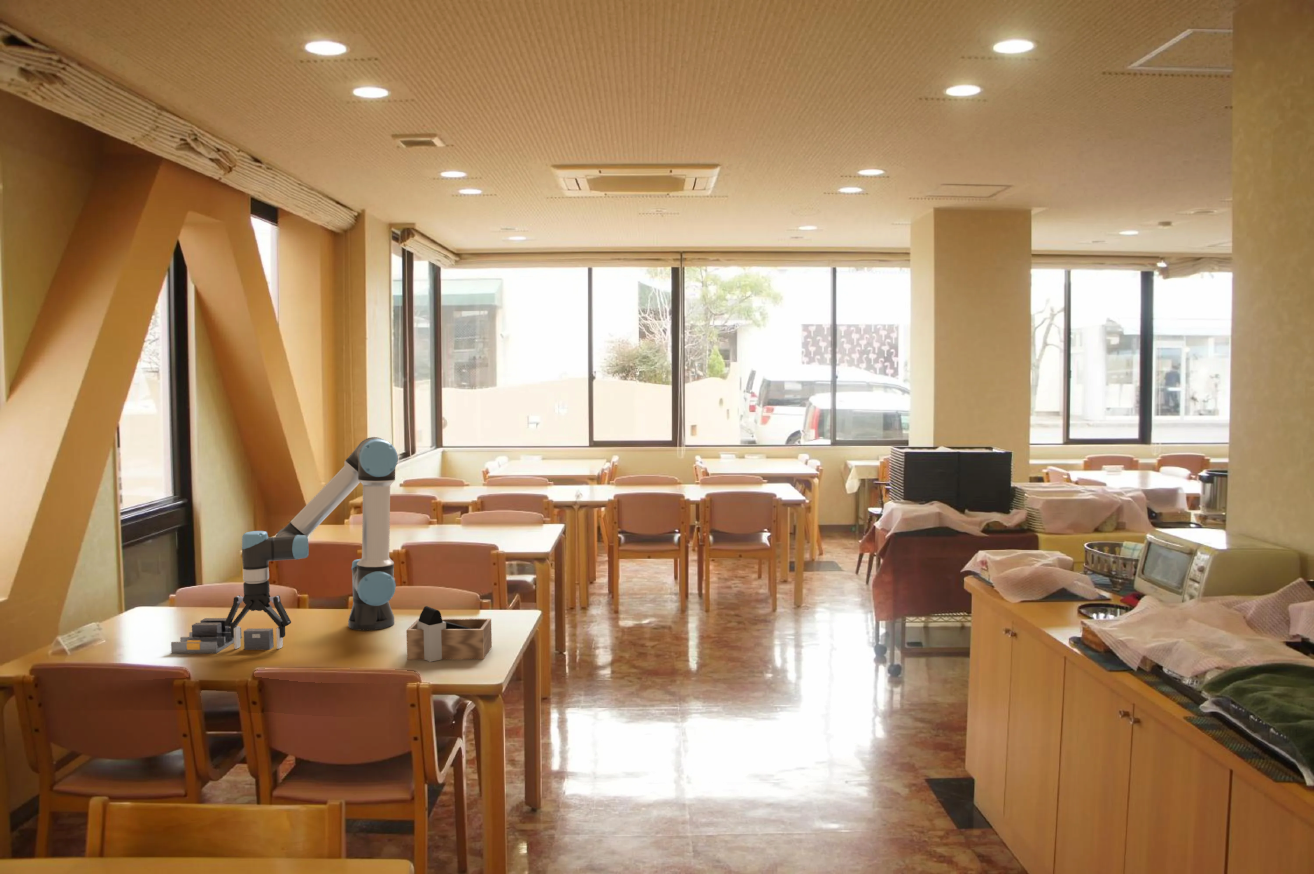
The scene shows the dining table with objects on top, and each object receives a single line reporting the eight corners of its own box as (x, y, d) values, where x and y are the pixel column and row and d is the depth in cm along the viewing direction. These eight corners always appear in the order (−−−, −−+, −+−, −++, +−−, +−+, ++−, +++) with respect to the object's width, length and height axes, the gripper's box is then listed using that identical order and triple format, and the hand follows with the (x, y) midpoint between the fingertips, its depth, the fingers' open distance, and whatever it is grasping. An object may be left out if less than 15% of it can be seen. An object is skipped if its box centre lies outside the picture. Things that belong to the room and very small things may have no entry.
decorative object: (483, 649, 296) (481, 601, 295) (430, 661, 284) (428, 612, 283) (469, 644, 302) (468, 597, 301) (417, 655, 290) (415, 607, 289)
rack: (241, 637, 313) (240, 616, 312) (215, 653, 295) (215, 631, 295) (199, 637, 313) (198, 616, 312) (171, 653, 296) (170, 631, 295)
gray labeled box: (273, 646, 302) (272, 628, 302) (269, 649, 299) (268, 631, 298) (248, 647, 302) (247, 628, 302) (244, 650, 299) (243, 631, 299)
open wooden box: (491, 646, 299) (491, 618, 299) (483, 659, 286) (482, 629, 286) (418, 646, 300) (418, 618, 299) (407, 659, 287) (406, 630, 286)
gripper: (300, 578, 302) (302, 644, 304) (222, 578, 303) (225, 644, 304) (290, 583, 295) (293, 650, 296) (211, 583, 296) (213, 651, 297)
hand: (258, 647), depth 300 cm, fingers open, 13 cm apart
